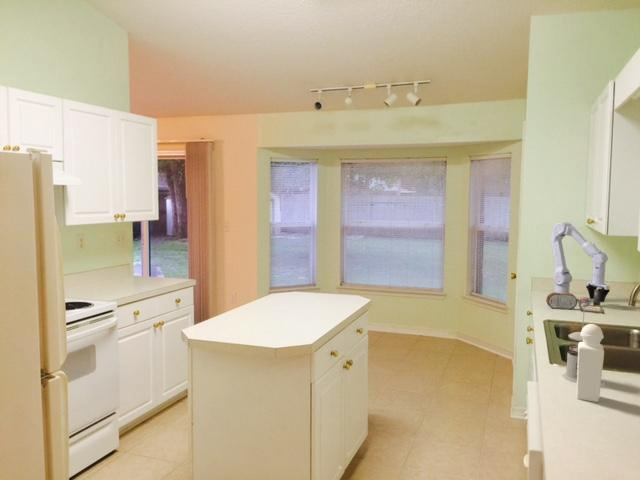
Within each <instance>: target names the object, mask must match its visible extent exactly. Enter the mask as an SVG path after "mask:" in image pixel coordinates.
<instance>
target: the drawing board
mask: <svg viewBox="0 0 640 480" xmlns="http://www.w3.org/2000/svg"><path fill="white" fill-rule="evenodd" d="M579 308H580V312H581V313H582V312H584V313H593V314H602V315H603V314H604V311H603V309H602V307H601V306H600V307H593V305H592V306H591V305H590V306H588V307H585V308H584V307H582V306H581V305H580V307H579Z"/></svg>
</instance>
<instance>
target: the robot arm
mask: <svg viewBox="0 0 640 480" xmlns="http://www.w3.org/2000/svg"><path fill="white" fill-rule="evenodd" d="M566 236H570V237H572V238H573V239H574V240H575V241H577V243H579V244H580V245H581V246H582V247H581V248H582V250H583V251H584V252H585V253H586V254H587V255H588V256H589V257H590V259H591V262H592V263H593V265H592V266H593V267H592V278H591V279H592V280H587V281H586V286H585V288H586V289H587V292H588V296H589V297H588V298H589V300H594V290H598V291H599V300H600V303H604V302H605V300H606V298H607V295H608V294H609V292H610V291H611V290H610V285H608V284H605V275H606V264H607V262H608V259H609V258H608V257H609V256H608V255H607V253H605V252H603V251H602V250H601V249H599V248H598V247H597V246H596V244H595V243H594V242H591V241H587V240H586V238H585V237H584V236H583V235H582V234H581V233H580V232H579V231H578V230H577V228H576V227H575V226H574V225H572V224H571V222H557V223H556V224H555V225H553V227H552V232H551V235H550V242H551V248H552V253H553V259H554V264H555V266H554V267H555V270H554V272H553V274H554V276H553V281H554V292H556V293H570V283H571V282H572V280H573V276H572V274H571V272H570V270H569V268H568V267H567V263H566V257H565V252H564V247H563V242H562V240H563V239H564V238H565V237H566Z"/></svg>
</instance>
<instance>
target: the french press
mask: <svg viewBox="0 0 640 480" xmlns="http://www.w3.org/2000/svg"><path fill="white" fill-rule="evenodd" d="M581 306H582V307H584V308H585V307H588V305H587V304H586V303H582V304H581ZM584 320H585V312H583V314H582V324H585V323H584V322H585V321H584ZM583 327H584V326H582V327H581V328H582V329H583ZM582 329H581V330H582ZM580 333H581V331H575V332H572V333H570V334H568V335H567V336H568V338H569V339H570V340H572V341H575V342H576V341H577V342H583V339H582V337H581V335H580ZM566 359H567V360H566V363H567V364H566V369H565V370H566V371H565V373H564V374H562V377H563V379H565V380H567V381H569V382H570V383H571V382H572V383H576V384H577V367H578V345H572V346H571V345H570V346H569V350H568V351H567V357H566Z"/></svg>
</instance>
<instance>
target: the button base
mask: <svg viewBox="0 0 640 480" xmlns="http://www.w3.org/2000/svg"><path fill="white" fill-rule="evenodd" d="M582 303H586V304H587V305H588V306H591V301H590V299H588V302H587V301H581V299H580V298H578V307H579V308H580V305H581V304H582Z"/></svg>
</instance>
